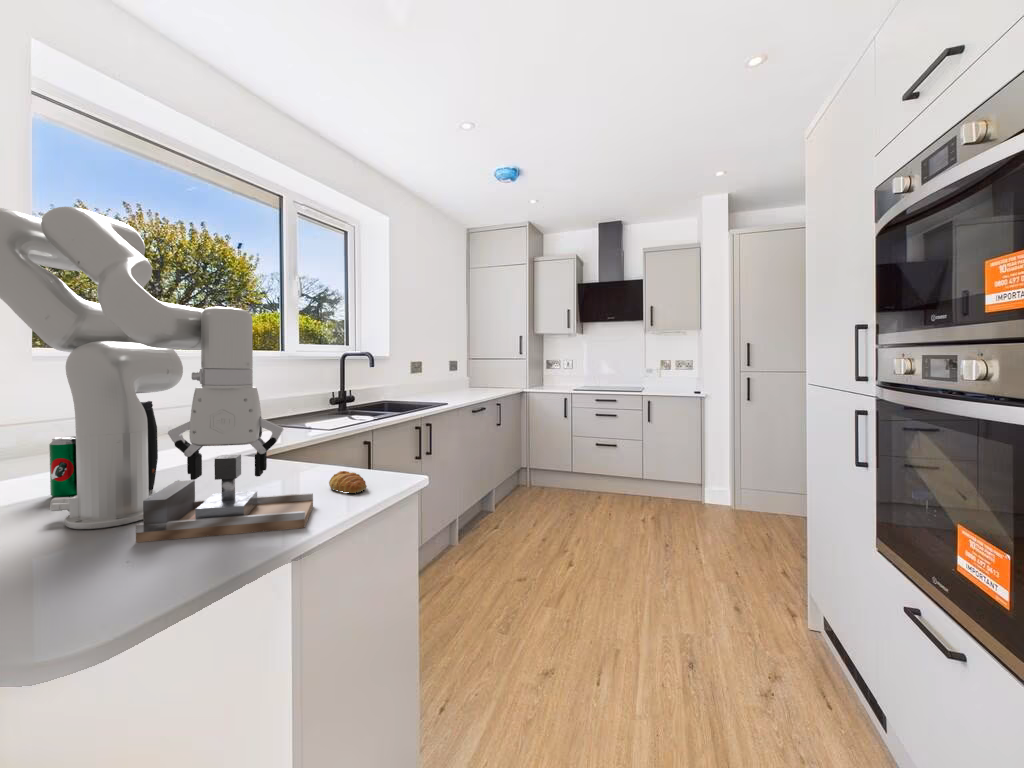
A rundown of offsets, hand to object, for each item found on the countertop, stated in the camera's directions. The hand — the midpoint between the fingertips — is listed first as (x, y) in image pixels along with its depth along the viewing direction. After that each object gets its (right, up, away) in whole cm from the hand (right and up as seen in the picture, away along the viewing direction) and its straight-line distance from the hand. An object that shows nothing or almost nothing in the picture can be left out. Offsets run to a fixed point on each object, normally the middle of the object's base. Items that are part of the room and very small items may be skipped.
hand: (228, 476), depth 77 cm
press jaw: (0, -7, 0) cm, 7 cm away
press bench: (+1, -8, +1) cm, 8 cm away
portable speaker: (-32, -7, +16) cm, 36 cm away
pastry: (+13, -8, +23) cm, 27 cm away
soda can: (-42, -7, +14) cm, 45 cm away
